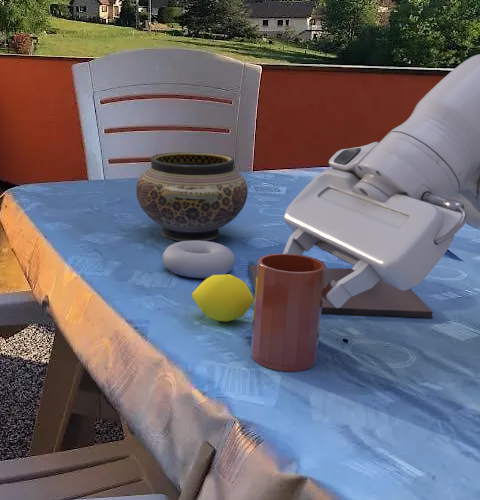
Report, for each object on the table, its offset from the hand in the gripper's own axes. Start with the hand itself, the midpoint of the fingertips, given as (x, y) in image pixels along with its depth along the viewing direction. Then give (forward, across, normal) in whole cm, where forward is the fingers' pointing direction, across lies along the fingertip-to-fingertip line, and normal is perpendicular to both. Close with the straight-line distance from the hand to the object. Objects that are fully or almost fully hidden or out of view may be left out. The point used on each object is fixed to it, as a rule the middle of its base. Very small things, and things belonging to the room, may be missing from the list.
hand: (302, 285), depth 70 cm
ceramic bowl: (+1, +47, -10) cm, 48 cm away
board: (-5, +17, -15) cm, 23 cm away
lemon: (+8, +11, -3) cm, 14 cm away
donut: (+5, +29, -6) cm, 30 cm away
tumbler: (+6, 0, -4) cm, 8 cm away
